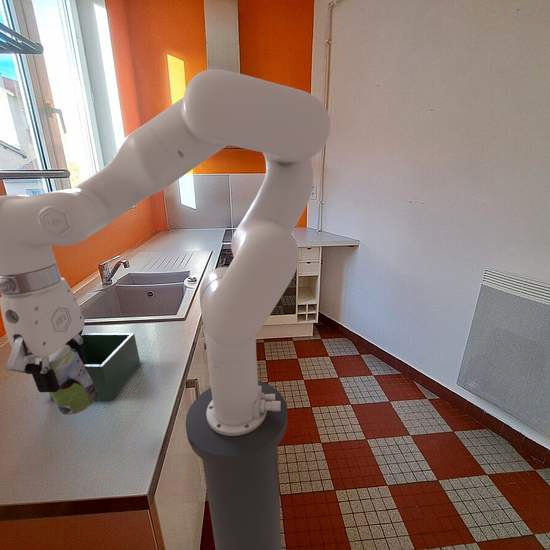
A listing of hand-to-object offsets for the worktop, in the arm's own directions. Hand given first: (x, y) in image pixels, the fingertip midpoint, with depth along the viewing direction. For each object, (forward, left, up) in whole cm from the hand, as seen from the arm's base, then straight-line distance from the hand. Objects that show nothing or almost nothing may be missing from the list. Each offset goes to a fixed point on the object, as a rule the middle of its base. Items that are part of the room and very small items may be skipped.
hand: (64, 376), depth 52 cm
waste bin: (+11, -21, -17) cm, 29 cm away
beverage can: (0, 0, -7) cm, 7 cm away
